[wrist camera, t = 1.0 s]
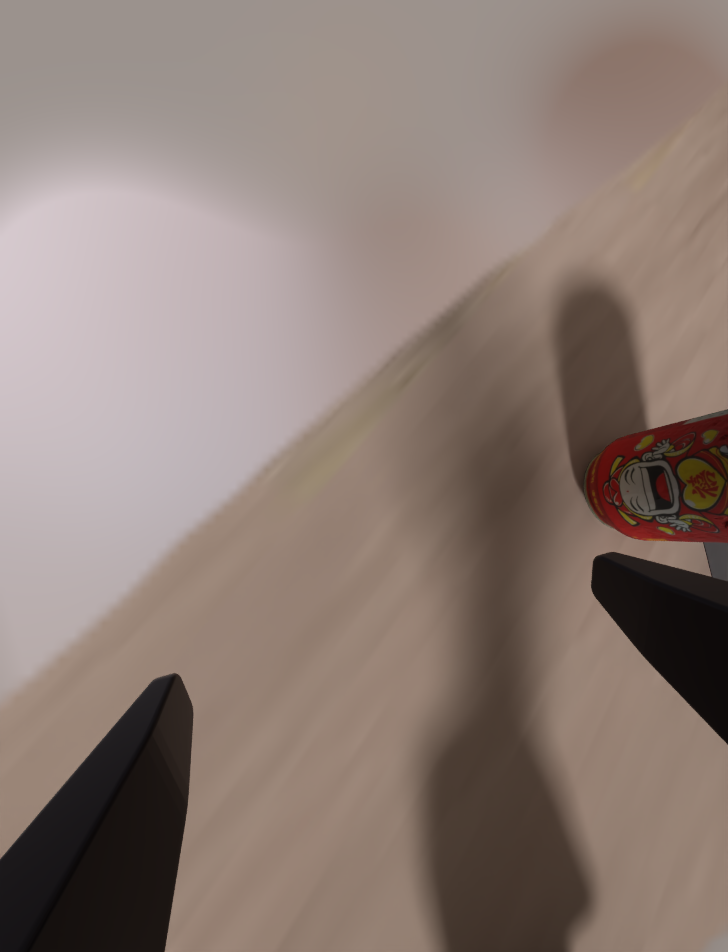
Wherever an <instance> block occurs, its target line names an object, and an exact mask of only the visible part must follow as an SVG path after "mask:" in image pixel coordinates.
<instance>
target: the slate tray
mask: <svg viewBox="0 0 728 952" xmlns="http://www.w3.org/2000/svg"><path fill="white" fill-rule="evenodd" d="M704 545H705V549H706V553H707V557H708V561H709V565H710V569H711V573H712V577H714V578H717V579H721V580H725V581H728V543H719V542H704Z"/></svg>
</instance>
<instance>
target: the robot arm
mask: <svg viewBox="0 0 728 952" xmlns="http://www.w3.org/2000/svg"><path fill="white" fill-rule="evenodd" d="M591 588H592V592H593V594H594V596H595V597H596V599H597V600H598V601H599V602H600V604H601V605H602V606H603V607H604V609H605V610H606V611H607V612H608V614H609V615H610V616H611V617H612V619H613V620H614V621H615V622H616V624H617V625H618V626H619V627H620V628H621V630H622V631H623V632H624V633H625V635H626V636H627V637H628V638H629V640H630V641H631V642H632V643H633V645H634V646H635V647H636V648H637V649H638V651H639V652H640V653H641V654H642V655H643V656H644V657H645V659H646V660H647V661H648V662H649V663H650V664H651V665H652V666H653V667H654V668H655V669H656V670H657V671H658V672H659V673H660V674H661V676H662V677H663V678H664V679H665V680H666V681H667V682H668V683H669V684H670V685H671V686H672V687H673V688H674V689H675V690H676V691H677V692H678V693H679V694H680V695H681V696H682V697H683V698H684V699H685V701H686V702H687V703H688V704H689V705H690V706H691V707H692V708H693V709H694V710H695V711H696V712H697V713H698V714H699V715H700V716H701V717H702V718H703V719H704V720H705V721H706V722H707V723H708V725H709V726H710V727H711V728H712V729H713V730H714V731H715V732H716V733H717V734H718V735H719V736H720V737H721V738H722V739H723V740H724V741H725V742H726V743H727V744H728V581H725V580H721V579H717V578H714V577H710V576H706V575H702V574H698V573H694V572H690V571H686V570H682V569H679V568H675V567H671V566H667V565H663V564H659V563H655V562H651V561H647V560H644V559H640V558H636V557H632V556H628V555H624V554H620V553H616V552H609V553H605V554H602V555H598V556H596V557H595V558H594V560H593V568H592V580H591ZM192 730H193V706H192V703H191V700H190V698H189V695H188V693H187V691H186V688H185V686H184V684H183V681H182V679H181V677H180V676H179V675H178V674H176V673H173V674H170V675H166V676H162V677H159V678H156V679H154V680H153V681H152V682H151V683H150V684H149V685H148V687H147V688H146V689H145V690H144V691H143V692H142V694H141V695H140V696H139V697H138V698H137V699H136V701H135V702H134V703H133V704H132V705H131V707H130V708H129V709H128V710H127V711H126V712H125V714H124V715H123V716H122V717H121V718H120V719H119V721H118V722H117V723H116V724H115V725H114V726H113V728H112V729H111V730H110V731H109V732H108V733H107V735H106V736H105V737H104V738H103V739H102V740H101V742H100V743H99V744H98V745H97V746H96V748H95V749H94V750H93V751H92V752H91V753H90V755H89V756H88V757H87V758H86V759H85V760H84V762H83V763H82V764H81V765H80V766H79V767H78V769H77V770H76V771H75V772H74V773H73V774H72V776H71V777H70V778H69V779H68V780H67V782H66V783H65V784H64V785H63V786H62V787H61V789H60V790H59V791H58V792H57V793H56V794H55V796H54V797H53V798H52V799H51V800H50V801H49V803H48V804H47V805H46V806H45V807H44V808H43V810H42V811H41V812H40V813H39V814H38V815H37V817H36V818H35V819H34V820H33V821H32V823H31V824H30V825H29V826H28V827H27V828H26V830H25V831H24V832H23V833H22V834H21V835H20V837H19V838H18V839H17V840H16V841H15V842H14V844H13V845H12V846H11V847H10V848H9V849H8V851H7V852H6V853H5V854H4V855H3V856H2V858H1V859H0V952H165V946H166V940H167V933H168V927H169V921H170V915H171V909H172V902H173V896H174V890H175V884H176V878H177V871H178V865H179V859H180V853H181V846H182V840H183V834H184V828H185V821H186V814H187V807H188V795H189V780H190V764H191V747H192Z"/></svg>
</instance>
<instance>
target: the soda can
mask: <svg viewBox="0 0 728 952" xmlns="http://www.w3.org/2000/svg"><path fill="white" fill-rule="evenodd" d="M584 493H585V497H586V501H587V503H588V505H589V507H590V509H591V511H592V513H593V514H594V515H595V517H596V518H597V519H598V520H600V521H601V522H602V523H603V524H605V525H607V526H609V527H611V528H615V529H616V530H617V531H619V532H621V533H622V534H624V535H626V536H628V537H631V538H634V539H640V540H649V541H683V542H719V543H728V409H727V410H724V411H720V412H716V413H712V414H708V415H704V416H701V417H697V418H693V419H689V420H685V421H681V422H677V423H673V424H670V425H666V426H662V427H658V428H654V429H650V430H646V431H642V432H639V433H635V434H631V435H627V436H624V437H622V438H619V439H616V440H615V441H614V442H612V443H611V444H610V445H608V446H607V447H606V448H605V449H604V450H603V452H602V453H600V454H598V455H597V456H596V457H595V458H594V459H593V460H592V461H591V463H590V464H589V466H588V468H587V470H586V473H585V479H584Z"/></svg>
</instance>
